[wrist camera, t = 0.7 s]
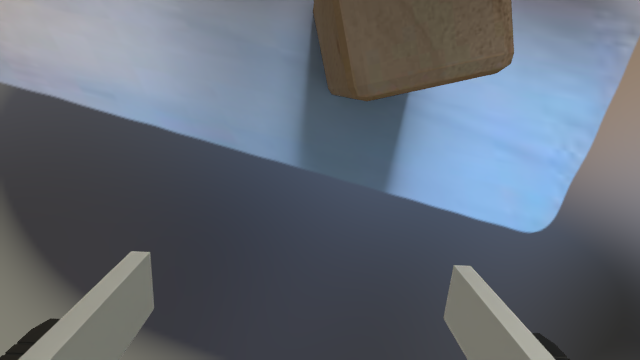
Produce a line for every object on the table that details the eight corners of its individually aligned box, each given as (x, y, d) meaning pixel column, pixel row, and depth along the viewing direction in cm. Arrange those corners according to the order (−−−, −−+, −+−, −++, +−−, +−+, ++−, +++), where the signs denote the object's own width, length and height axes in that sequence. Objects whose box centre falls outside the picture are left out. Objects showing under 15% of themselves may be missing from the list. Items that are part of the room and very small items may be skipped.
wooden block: (329, 97, 39) (353, 105, 20) (310, 3, 37) (317, -93, 17) (414, 78, 39) (522, 68, 20) (402, -17, 36) (512, -137, 17)
